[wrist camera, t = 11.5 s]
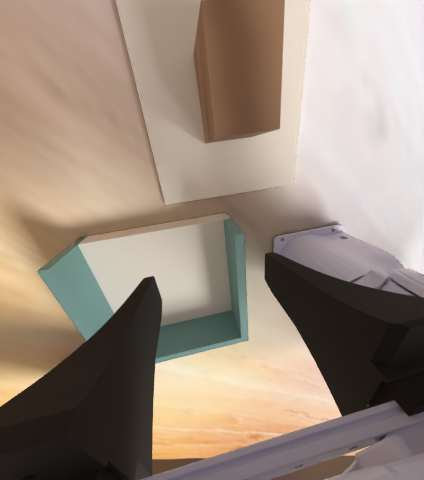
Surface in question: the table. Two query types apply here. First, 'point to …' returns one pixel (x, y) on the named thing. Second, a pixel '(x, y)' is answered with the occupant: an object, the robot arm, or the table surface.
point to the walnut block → (239, 67)
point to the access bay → (160, 281)
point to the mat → (189, 111)
